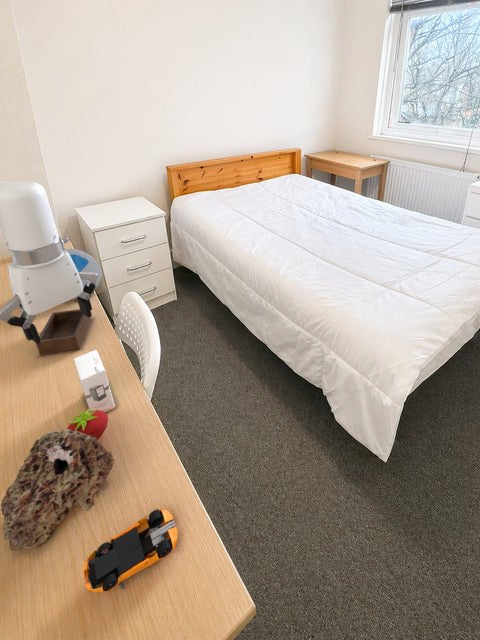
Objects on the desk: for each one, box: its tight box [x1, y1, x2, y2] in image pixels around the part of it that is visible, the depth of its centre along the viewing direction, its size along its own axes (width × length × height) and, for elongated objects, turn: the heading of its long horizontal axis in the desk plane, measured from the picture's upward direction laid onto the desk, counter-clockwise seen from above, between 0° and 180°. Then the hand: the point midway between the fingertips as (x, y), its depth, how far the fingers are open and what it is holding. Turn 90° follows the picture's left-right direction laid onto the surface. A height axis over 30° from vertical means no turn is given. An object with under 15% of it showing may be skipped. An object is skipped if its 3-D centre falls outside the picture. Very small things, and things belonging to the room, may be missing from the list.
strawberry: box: [66, 407, 109, 442], centre depth 71 cm, size 6×8×10 cm
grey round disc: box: [64, 248, 102, 301], centre depth 120 cm, size 18×18×5 cm
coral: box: [0, 428, 115, 551], centre depth 62 cm, size 18×13×15 cm
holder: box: [35, 308, 92, 357], centre depth 102 cm, size 10×14×5 cm
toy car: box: [82, 508, 178, 594], centre depth 56 cm, size 12×12×3 cm
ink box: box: [73, 349, 116, 413], centre depth 80 cm, size 9×5×12 cm, turn 40°
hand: (62, 326), depth 70 cm, fingers open, 9 cm apart
